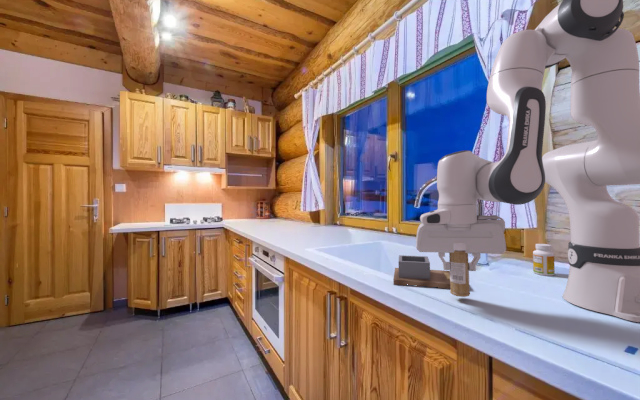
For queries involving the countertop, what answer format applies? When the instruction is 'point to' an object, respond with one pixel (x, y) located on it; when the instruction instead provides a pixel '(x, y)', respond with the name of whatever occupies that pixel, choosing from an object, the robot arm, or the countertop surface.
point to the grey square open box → (414, 267)
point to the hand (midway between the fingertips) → (459, 270)
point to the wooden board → (436, 279)
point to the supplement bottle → (543, 260)
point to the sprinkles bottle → (459, 271)
